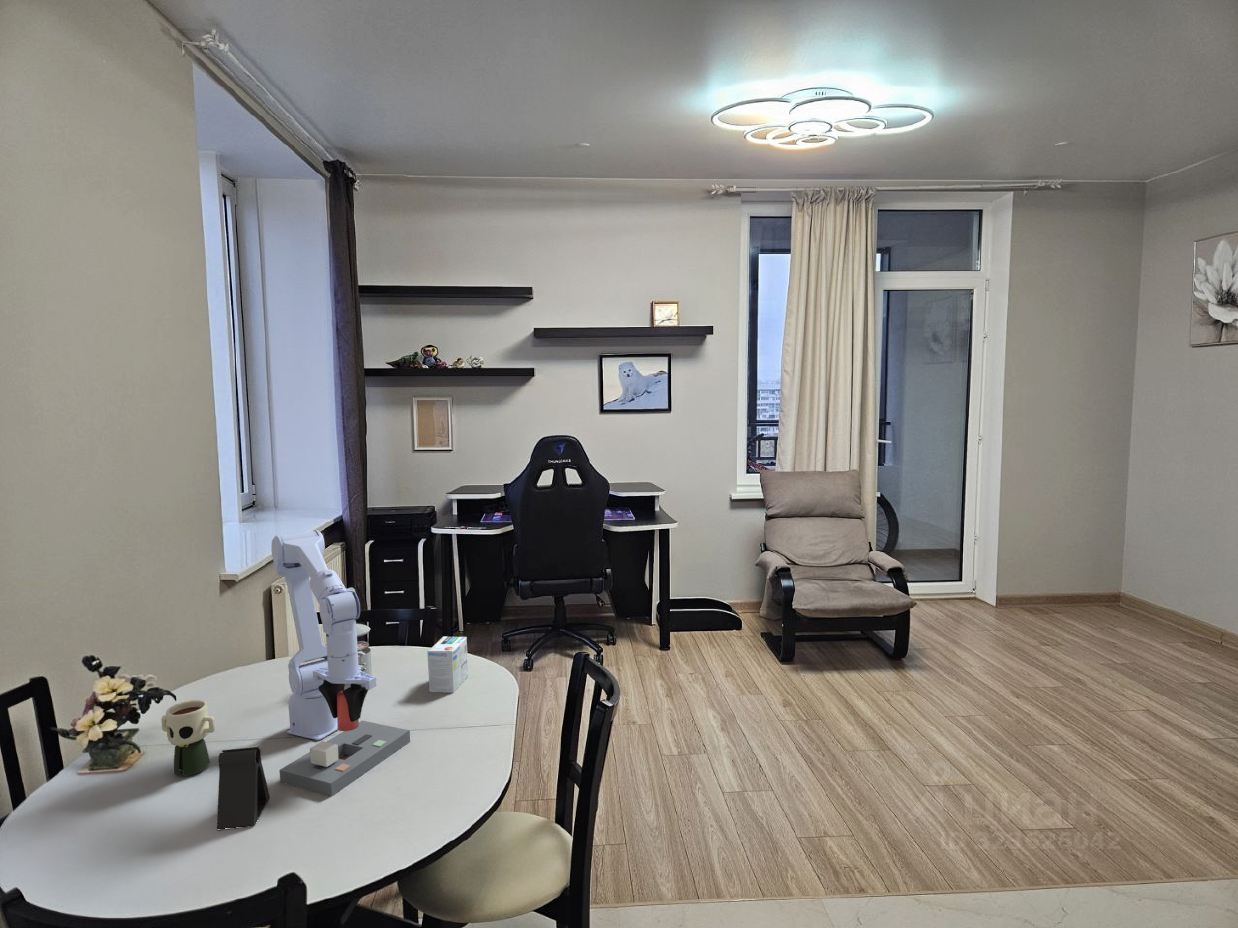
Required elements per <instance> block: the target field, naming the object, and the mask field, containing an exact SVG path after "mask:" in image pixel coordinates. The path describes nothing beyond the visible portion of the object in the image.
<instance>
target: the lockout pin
mask: <svg viewBox="0 0 1238 928" xmlns="http://www.w3.org/2000/svg"><path fill="white" fill-rule="evenodd" d="M359 719H360V718H359ZM359 719H358V720H356V721H354V722H351V721H350V718H349V710H348V704H347V701H346V698H345V696H344V694H343V691H340V692H338V693H337V718H336V721H337V725H338V730H337V731H340V732H344V731H351V730H354V729H356V728H358V726H359V722H360V721H359Z"/></svg>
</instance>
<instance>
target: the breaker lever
mask: <svg viewBox="0 0 1238 928" xmlns="http://www.w3.org/2000/svg"><path fill="white" fill-rule="evenodd" d="M309 752H310V755H311V763H313V764H317V765H321V766H325V767H328V766H329V765H331V764H332V763H334V762H335V761H337V760H338V745H336V744H332V743H328V742H327V741H322V740H321V741H320V742H318V743H316V744H315V745H313V746H311V747H310V748H309Z"/></svg>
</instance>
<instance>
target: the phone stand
mask: <svg viewBox="0 0 1238 928" xmlns="http://www.w3.org/2000/svg"><path fill="white" fill-rule="evenodd" d="M261 756H262V753H261V748H260V746H253V747H252V746H251V747H243V748H242V747H241V748H233V749H222V750H221V752H220V753H219V755H218V762H217V763H218V771H219V772H218V773H219V775H218V776H219V777H218V792H217V814H216V830H217V829H225V828H234V829H237V828H236V827H243V828H249V827H248V826H252V827H255V826H256V824H257V823H256V822H258V821H257V820H259V819H260V817H261V815H262V813H263V812H264V810H265V808H266V806H267V804H268V802H269V801H270V799H269V798H271V796H270V792H269V787H268V784H267V780H266V775H265V770H264V766H263V764H262V763H263V762H262V757H261ZM268 800H269V801H268ZM262 811H263V812H262ZM258 818H259V819H258Z"/></svg>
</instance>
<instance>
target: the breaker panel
mask: <svg viewBox="0 0 1238 928" xmlns="http://www.w3.org/2000/svg"><path fill="white" fill-rule="evenodd" d="M326 742H328V743H332V744H336V745H338V760H337V761H335V762H334V763H332V764H331V765H329V766H328V767H325V766H321V765H317V764H313V763H311V755H310V751H308V752H307V753H305V754H303V755H302V756H301V757H298V758H297V759H295V760H294V761H292V762H291V763H289V764H287V765H285V766H284V767H282V768H280V769H279V782H280V783H281V784H284V785H288V786H291V787H292V786H293V787H296V788H300V789H304V790H307V791H312V792H314V793H319V794H323V795H327V796H331V797H333V796H335V795H336V794H337V793H339V792H341V791H342V790H343V789H344V788H346V787H347V786H349V785H350V784H351V783H353V782H355V781H356V780H358V779H359V778H361V776H363V775H364V774H366V773H367V772H369V771H370V770H372V769H373V768H375V767H376V766H378V765H379V764H380V763H382V762H383V761H384V760H386V759H388V758H389V757H391V756H392V755H393V754H395V753H396V752H397V751H399V750H400V749H402V748H403V747H405V746H406V745H408V744H409V743H410V742H411V730H409V729H407V728H406V729H405V728H402V727H401V728H400V727H395V726H391V725H385V724H382V723H381V724H380V723H375V722H371V721H367V720H360V721H359V726H358V728H356V729H354V730H351V731H341V732H339V734H337V735H335V736H334V737H331V738H330V739H328V740H327V741H326ZM343 756H348V757H347V758H346V759H341V758H342V757H343Z"/></svg>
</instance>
